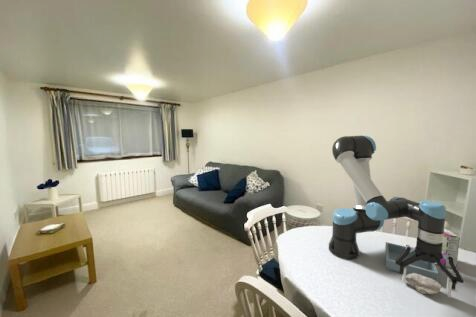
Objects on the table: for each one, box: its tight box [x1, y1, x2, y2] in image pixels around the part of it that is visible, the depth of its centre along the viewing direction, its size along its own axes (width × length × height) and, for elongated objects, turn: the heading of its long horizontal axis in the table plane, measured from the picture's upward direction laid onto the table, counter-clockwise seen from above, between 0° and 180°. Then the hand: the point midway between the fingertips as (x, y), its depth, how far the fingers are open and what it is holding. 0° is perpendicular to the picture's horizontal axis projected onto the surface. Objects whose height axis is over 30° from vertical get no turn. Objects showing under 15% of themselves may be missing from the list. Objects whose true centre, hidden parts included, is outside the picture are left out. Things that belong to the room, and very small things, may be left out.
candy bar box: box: [440, 227, 461, 269], centre depth 99 cm, size 11×5×16 cm, turn 168°
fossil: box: [405, 273, 442, 295], centre depth 83 cm, size 9×6×10 cm
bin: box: [384, 242, 440, 283], centre depth 98 cm, size 18×18×5 cm
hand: (424, 287), depth 83 cm, fingers open, 13 cm apart
